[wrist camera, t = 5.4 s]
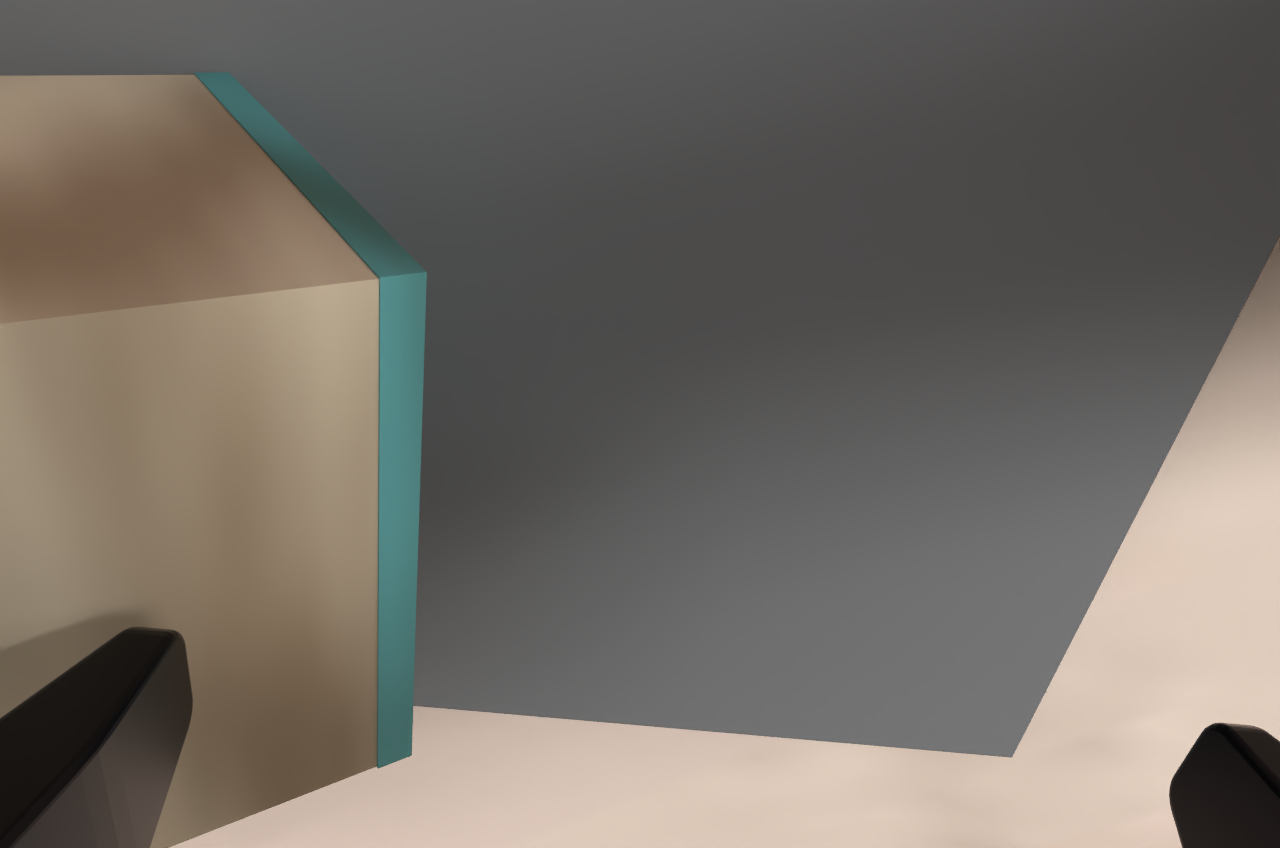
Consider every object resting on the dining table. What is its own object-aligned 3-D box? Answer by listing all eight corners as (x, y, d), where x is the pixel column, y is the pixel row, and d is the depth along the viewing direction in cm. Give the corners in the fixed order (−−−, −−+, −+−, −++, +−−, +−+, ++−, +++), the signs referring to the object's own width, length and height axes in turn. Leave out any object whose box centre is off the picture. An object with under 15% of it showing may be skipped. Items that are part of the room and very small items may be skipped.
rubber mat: (1386, -20, 12) (1408, -15, 12) (1005, 741, 20) (1012, 757, 19) (-1239, -452, 10) (-1307, -461, 9) (-546, 604, 17) (-570, 620, 17)
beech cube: (427, 271, 8) (-688, 404, 5) (411, 755, 11) (-277, 1025, 8) (228, 72, 12) (-459, 74, 9) (258, 470, 15) (-243, 577, 12)
